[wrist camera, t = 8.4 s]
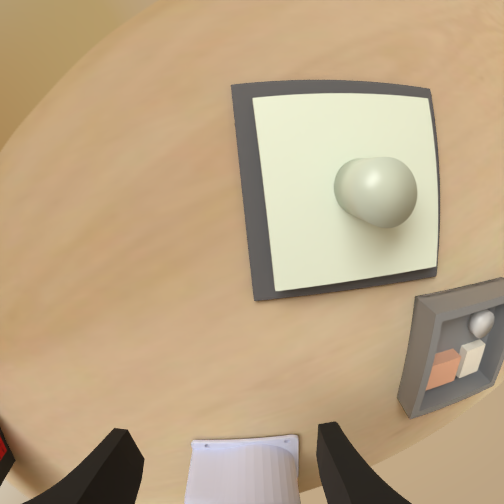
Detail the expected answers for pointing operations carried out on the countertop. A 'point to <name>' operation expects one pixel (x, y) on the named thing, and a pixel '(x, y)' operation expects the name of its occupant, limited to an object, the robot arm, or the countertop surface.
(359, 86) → the mat
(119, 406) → the countertop surface
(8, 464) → the cleaning product box
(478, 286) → the storage box
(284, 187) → the lid
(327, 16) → the countertop surface
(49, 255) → the countertop surface
